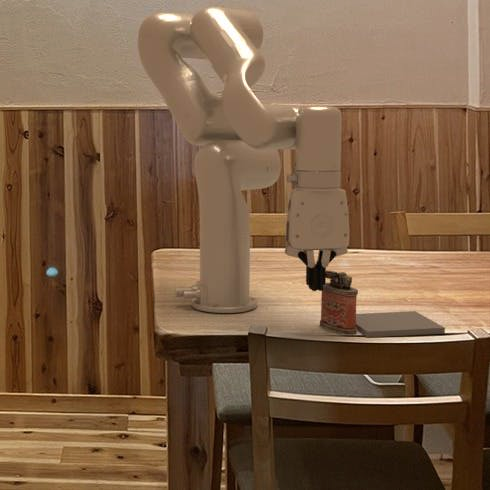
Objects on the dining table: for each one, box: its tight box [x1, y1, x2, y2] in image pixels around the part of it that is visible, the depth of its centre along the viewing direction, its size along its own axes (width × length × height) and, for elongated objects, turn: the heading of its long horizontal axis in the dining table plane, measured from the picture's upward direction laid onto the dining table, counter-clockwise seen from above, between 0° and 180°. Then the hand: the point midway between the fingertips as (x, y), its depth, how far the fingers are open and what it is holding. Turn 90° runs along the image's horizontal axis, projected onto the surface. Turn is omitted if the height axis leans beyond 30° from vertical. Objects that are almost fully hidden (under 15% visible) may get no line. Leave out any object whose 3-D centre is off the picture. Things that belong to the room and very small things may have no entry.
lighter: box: [319, 269, 359, 336], centre depth 137 cm, size 8×3×10 cm, turn 35°
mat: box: [356, 310, 446, 338], centre depth 140 cm, size 14×12×1 cm
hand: (315, 289), depth 136 cm, fingers closed
